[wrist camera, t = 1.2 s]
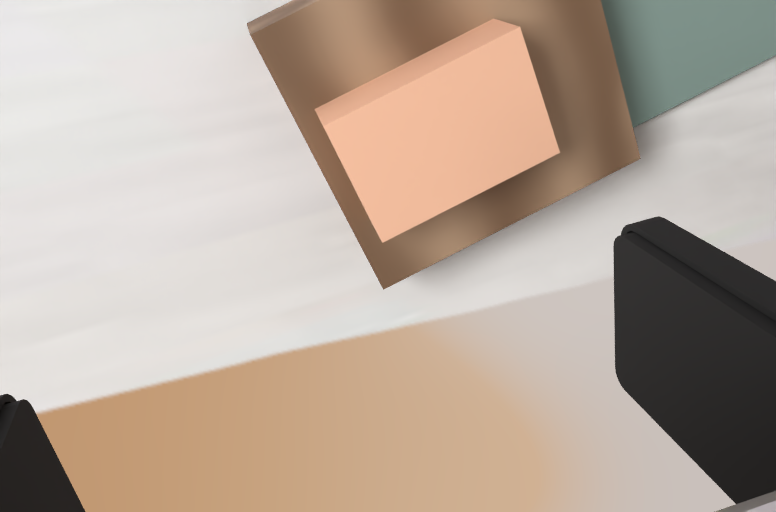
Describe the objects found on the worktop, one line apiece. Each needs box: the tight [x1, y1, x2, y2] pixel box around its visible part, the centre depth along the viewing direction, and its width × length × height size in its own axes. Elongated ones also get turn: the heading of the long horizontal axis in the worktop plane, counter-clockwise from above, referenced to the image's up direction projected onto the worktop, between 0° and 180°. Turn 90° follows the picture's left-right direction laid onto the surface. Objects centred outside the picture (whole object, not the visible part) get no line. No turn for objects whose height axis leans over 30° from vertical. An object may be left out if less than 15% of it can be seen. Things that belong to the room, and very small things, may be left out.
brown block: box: [247, 0, 641, 290], centre depth 33 cm, size 15×14×4 cm
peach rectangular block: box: [315, 19, 560, 243], centre depth 30 cm, size 9×6×3 cm, turn 114°
